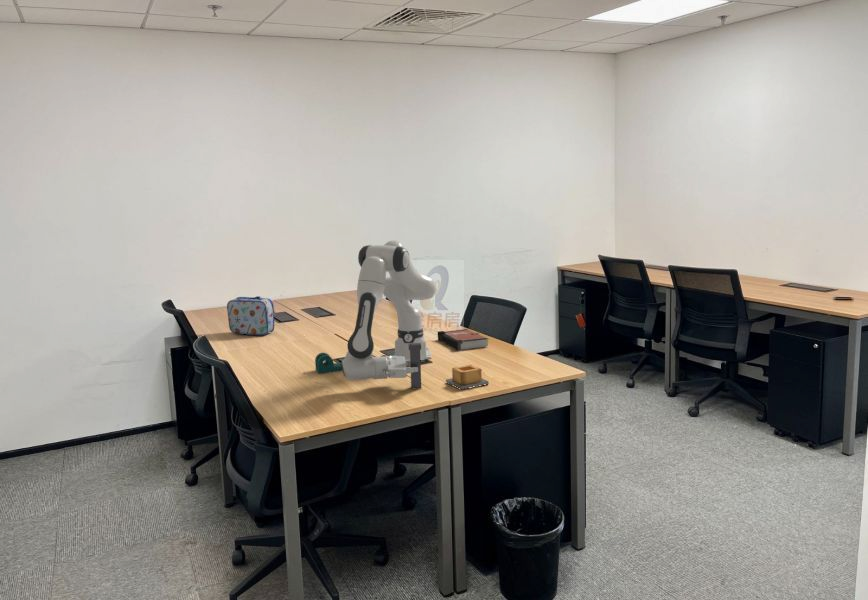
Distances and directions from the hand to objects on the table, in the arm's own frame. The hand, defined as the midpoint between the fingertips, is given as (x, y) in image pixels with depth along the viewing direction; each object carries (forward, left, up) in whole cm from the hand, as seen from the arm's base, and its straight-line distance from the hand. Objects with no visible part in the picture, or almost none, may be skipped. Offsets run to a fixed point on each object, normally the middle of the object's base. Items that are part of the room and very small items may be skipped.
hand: (417, 365), depth 277 cm
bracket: (-26, -41, -9) cm, 49 cm away
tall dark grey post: (0, -1, -9) cm, 9 cm away
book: (-76, +11, -10) cm, 78 cm away
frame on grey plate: (-6, +19, -9) cm, 22 cm away
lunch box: (-97, -110, -9) cm, 147 cm away
